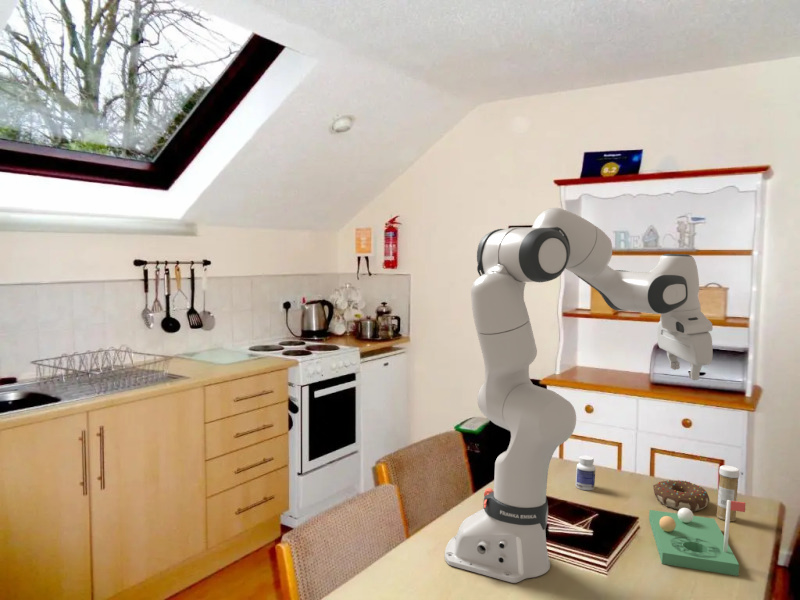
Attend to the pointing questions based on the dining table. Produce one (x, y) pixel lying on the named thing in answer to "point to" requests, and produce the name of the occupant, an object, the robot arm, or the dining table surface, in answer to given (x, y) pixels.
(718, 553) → the putting mat
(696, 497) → the donut
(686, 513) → the white ball
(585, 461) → the pill bottle
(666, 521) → the orange ball
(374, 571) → the dining table surface
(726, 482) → the sprinkles bottle
